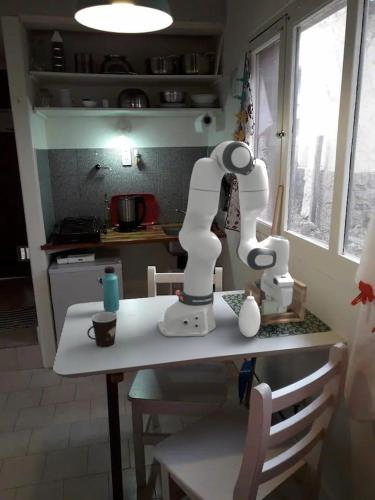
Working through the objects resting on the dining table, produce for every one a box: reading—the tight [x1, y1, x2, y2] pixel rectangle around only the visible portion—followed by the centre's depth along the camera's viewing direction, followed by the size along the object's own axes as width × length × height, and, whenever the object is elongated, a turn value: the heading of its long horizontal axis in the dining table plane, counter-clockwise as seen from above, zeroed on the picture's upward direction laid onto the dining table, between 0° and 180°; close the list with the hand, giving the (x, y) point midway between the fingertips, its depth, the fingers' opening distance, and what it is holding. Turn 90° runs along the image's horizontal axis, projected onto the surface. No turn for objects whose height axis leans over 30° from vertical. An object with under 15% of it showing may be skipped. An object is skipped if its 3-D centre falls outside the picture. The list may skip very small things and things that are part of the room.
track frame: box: [243, 277, 308, 326], centre depth 154 cm, size 22×10×15 cm, turn 104°
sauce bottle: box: [238, 292, 261, 338], centre depth 139 cm, size 8×8×18 cm
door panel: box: [260, 298, 288, 316], centre depth 154 cm, size 10×3×7 cm, turn 104°
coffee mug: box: [86, 311, 118, 349], centre depth 132 cm, size 12×9×10 cm
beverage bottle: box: [101, 266, 120, 313], centre depth 158 cm, size 6×7×20 cm
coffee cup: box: [254, 278, 266, 304], centre depth 173 cm, size 8×8×10 cm
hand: (273, 307), depth 155 cm, fingers open, 8 cm apart
